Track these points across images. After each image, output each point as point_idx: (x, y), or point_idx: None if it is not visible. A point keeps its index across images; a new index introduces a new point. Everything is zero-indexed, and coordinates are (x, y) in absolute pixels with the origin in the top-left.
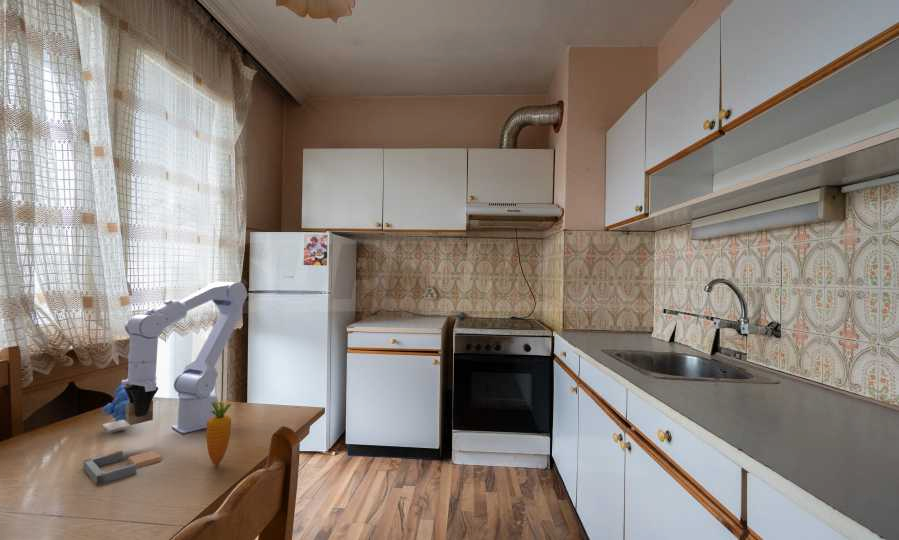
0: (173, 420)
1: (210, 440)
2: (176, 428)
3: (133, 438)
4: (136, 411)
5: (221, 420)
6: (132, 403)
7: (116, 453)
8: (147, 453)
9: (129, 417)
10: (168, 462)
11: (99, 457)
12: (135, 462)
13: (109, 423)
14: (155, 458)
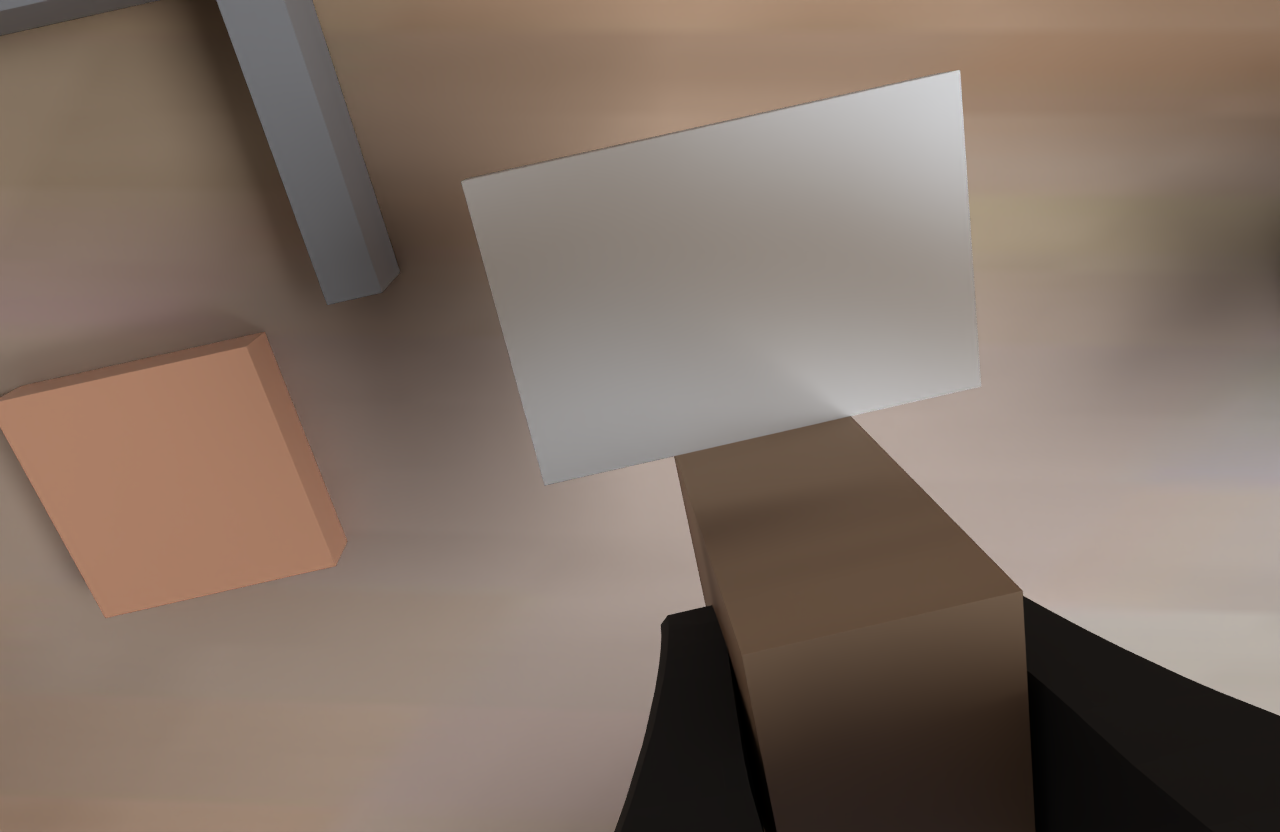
0: (1270, 711)
1: None
2: None
3: (996, 389)
4: (662, 681)
5: None
6: (921, 717)
7: (315, 239)
8: (268, 511)
9: (695, 513)
10: (42, 640)
11: (260, 52)
12: (21, 407)
13: (914, 178)
14: (85, 568)
